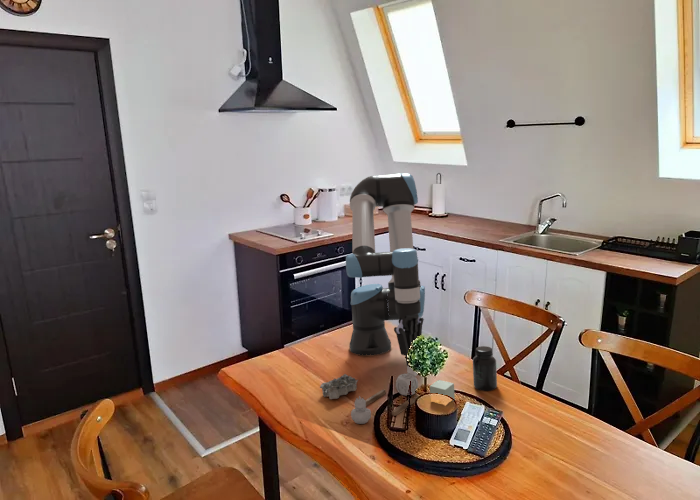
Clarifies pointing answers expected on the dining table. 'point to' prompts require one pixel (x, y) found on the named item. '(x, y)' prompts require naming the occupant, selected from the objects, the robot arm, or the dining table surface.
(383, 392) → the rails
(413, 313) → the robot arm
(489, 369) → the supplement bottle
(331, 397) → the egg carton
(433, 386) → the sage block
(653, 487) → the dining table surface
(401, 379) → the die
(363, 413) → the grey rounded piece
